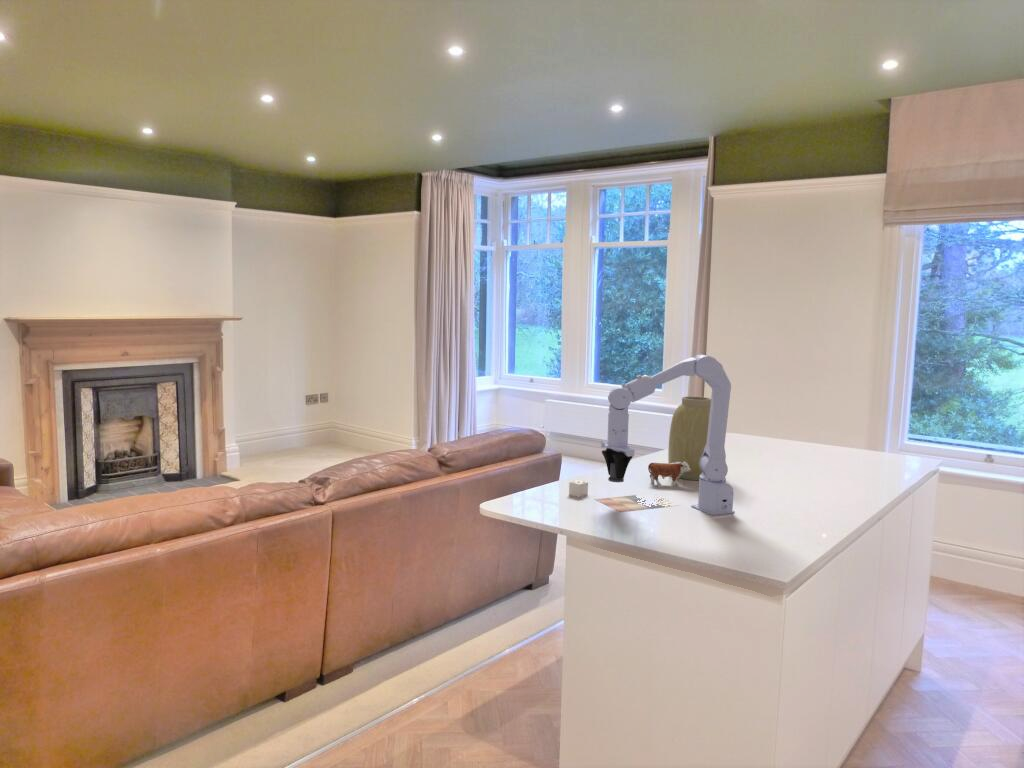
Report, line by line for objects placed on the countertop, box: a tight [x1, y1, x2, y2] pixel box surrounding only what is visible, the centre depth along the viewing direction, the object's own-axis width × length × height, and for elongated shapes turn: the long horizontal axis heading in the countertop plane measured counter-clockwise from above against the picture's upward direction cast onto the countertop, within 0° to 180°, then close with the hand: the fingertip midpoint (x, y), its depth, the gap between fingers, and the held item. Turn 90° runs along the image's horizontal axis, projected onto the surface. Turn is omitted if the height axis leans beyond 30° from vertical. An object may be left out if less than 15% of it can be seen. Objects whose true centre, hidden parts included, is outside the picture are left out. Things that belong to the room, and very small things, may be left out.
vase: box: [667, 396, 711, 481], centre depth 241 cm, size 17×17×27 cm
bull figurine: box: [647, 461, 691, 487], centre depth 228 cm, size 4×13×8 cm, turn 79°
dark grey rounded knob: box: [607, 462, 625, 483], centre depth 202 cm, size 4×4×5 cm
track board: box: [594, 494, 673, 513], centre depth 206 cm, size 14×20×1 cm
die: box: [568, 479, 589, 498], centre depth 214 cm, size 4×4×4 cm
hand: (616, 476), depth 202 cm, fingers closed on dark grey rounded knob, 4 cm apart
